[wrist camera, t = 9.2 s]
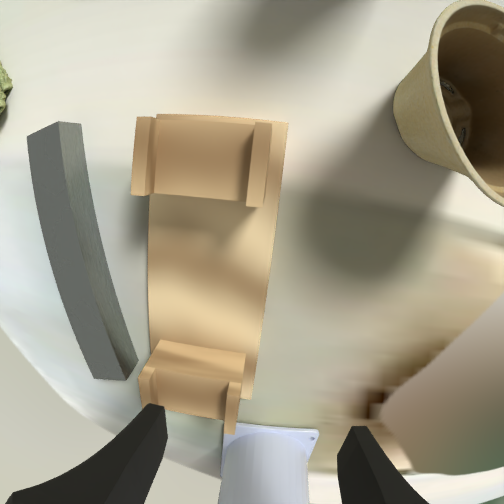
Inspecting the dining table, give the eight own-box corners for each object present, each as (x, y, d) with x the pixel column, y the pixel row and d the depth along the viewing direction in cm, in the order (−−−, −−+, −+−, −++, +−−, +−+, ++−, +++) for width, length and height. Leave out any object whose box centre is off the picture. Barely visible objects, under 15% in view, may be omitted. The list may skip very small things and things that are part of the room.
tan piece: (251, 392, 22) (246, 442, 17) (156, 376, 23) (133, 420, 18) (287, 124, 17) (293, 110, 12) (161, 115, 17) (123, 102, 12)
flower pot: (365, 182, 18) (432, 201, 9) (362, 37, 15) (414, -30, 7) (483, 195, 17) (571, 221, 9) (481, 68, 14) (560, 43, 6)
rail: (140, 358, 23) (126, 380, 20) (109, 357, 23) (93, 378, 20) (83, 124, 18) (58, 121, 15) (52, 136, 18) (26, 136, 15)
